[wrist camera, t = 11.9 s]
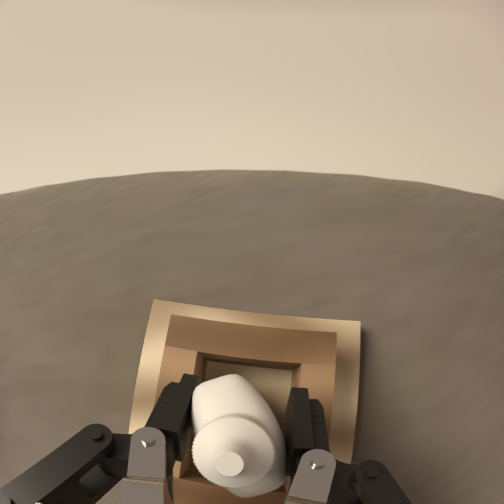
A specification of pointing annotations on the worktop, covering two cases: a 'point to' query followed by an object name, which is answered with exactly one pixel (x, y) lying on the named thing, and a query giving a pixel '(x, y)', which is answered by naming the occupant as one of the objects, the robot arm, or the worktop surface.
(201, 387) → the eye dropper bottle
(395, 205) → the worktop surface
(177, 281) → the worktop surface
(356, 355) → the birch holder
